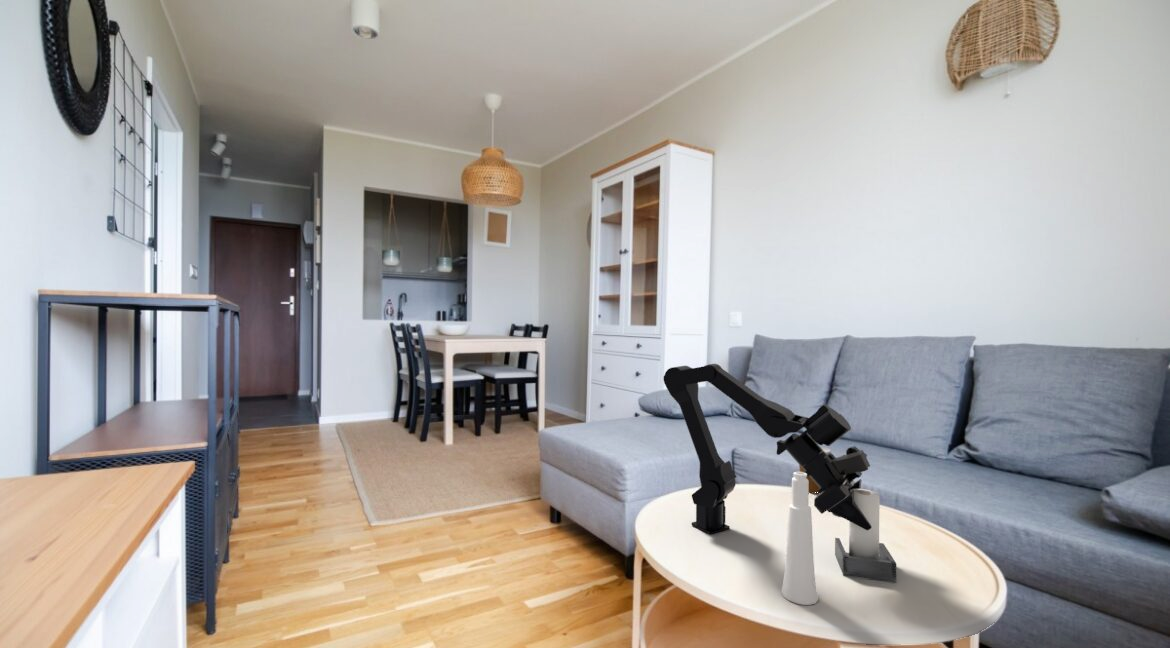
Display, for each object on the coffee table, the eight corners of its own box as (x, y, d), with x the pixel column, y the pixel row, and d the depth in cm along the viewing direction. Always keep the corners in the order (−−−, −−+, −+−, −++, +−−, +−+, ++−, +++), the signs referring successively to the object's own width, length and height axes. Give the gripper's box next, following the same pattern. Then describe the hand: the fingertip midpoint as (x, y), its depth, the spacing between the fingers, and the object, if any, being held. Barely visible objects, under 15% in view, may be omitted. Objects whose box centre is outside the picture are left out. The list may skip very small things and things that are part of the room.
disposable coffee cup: (833, 488, 148) (834, 447, 148) (829, 498, 140) (830, 454, 140) (799, 482, 153) (799, 443, 153) (793, 491, 145) (793, 450, 145)
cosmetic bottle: (774, 591, 92) (774, 470, 92) (798, 584, 94) (799, 466, 94) (800, 608, 86) (801, 480, 86) (825, 600, 89) (826, 475, 89)
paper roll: (859, 565, 98) (859, 496, 98) (843, 552, 103) (844, 487, 103) (884, 564, 98) (885, 496, 98) (868, 551, 103) (868, 487, 103)
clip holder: (896, 582, 95) (896, 563, 95) (843, 575, 98) (843, 556, 98) (883, 560, 104) (883, 543, 104) (834, 554, 106) (835, 537, 106)
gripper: (833, 444, 95) (901, 517, 89) (851, 428, 110) (910, 489, 104) (789, 478, 100) (850, 549, 94) (812, 458, 115) (866, 518, 109)
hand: (871, 524), depth 100 cm, fingers closed on paper roll, 5 cm apart
